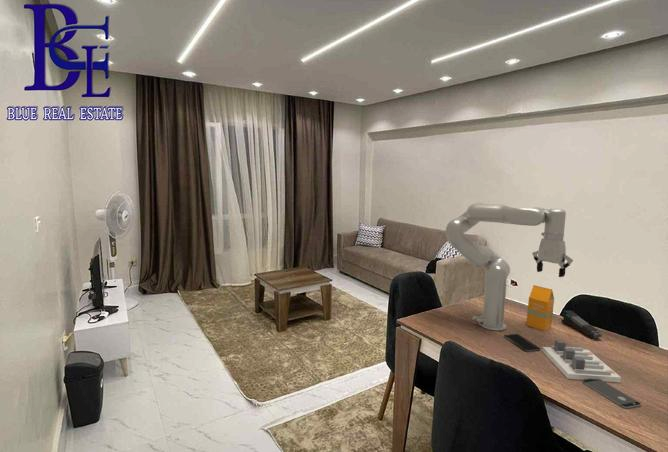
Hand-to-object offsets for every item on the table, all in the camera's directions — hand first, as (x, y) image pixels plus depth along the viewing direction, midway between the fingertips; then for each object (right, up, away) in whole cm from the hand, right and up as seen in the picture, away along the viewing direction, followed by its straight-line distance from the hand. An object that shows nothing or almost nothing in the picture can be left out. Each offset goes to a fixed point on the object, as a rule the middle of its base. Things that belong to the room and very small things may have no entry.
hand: (550, 274), depth 164 cm
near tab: (-6, -32, -27) cm, 43 cm away
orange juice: (+4, -28, +17) cm, 33 cm away
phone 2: (-2, -37, -38) cm, 53 cm away
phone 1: (-14, -31, -2) cm, 34 cm away
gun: (+21, -29, +12) cm, 38 cm away
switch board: (-1, -34, -20) cm, 39 cm away
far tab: (-4, -30, -13) cm, 33 cm away
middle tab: (-5, -31, -20) cm, 38 cm away
